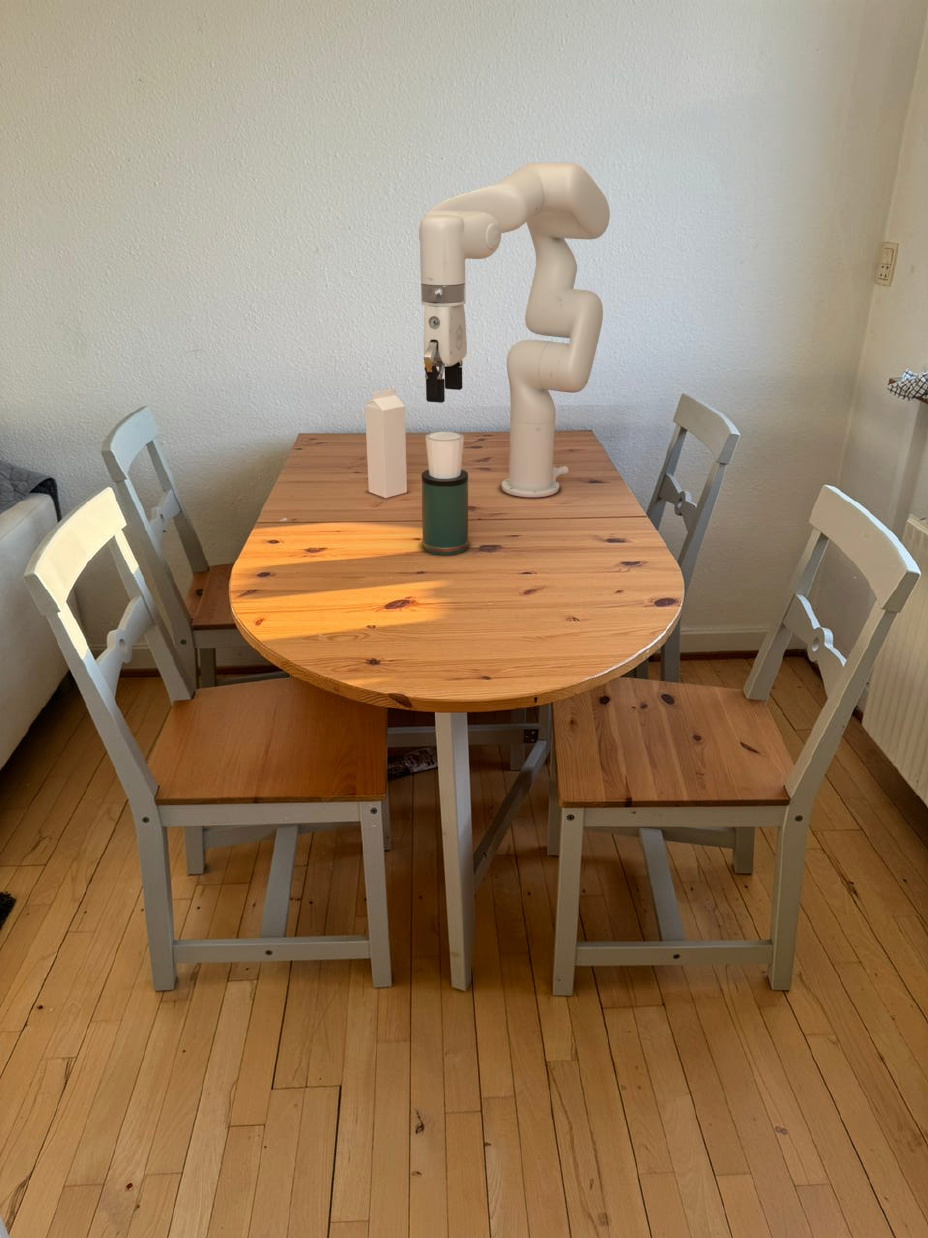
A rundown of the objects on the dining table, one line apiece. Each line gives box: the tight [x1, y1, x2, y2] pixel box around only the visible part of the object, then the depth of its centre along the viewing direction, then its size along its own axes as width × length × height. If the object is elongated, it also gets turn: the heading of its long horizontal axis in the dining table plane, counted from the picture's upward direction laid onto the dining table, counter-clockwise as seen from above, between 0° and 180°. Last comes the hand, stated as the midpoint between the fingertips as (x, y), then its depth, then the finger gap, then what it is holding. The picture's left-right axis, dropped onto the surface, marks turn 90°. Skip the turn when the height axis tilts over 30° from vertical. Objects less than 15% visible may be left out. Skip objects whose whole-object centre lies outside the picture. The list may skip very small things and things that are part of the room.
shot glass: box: [425, 430, 465, 479], centre depth 168 cm, size 7×7×7 cm
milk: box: [364, 387, 408, 499], centre depth 199 cm, size 6×6×22 cm
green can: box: [421, 468, 469, 556], centre depth 173 cm, size 8×8×14 cm
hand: (444, 395), depth 168 cm, fingers open, 9 cm apart
